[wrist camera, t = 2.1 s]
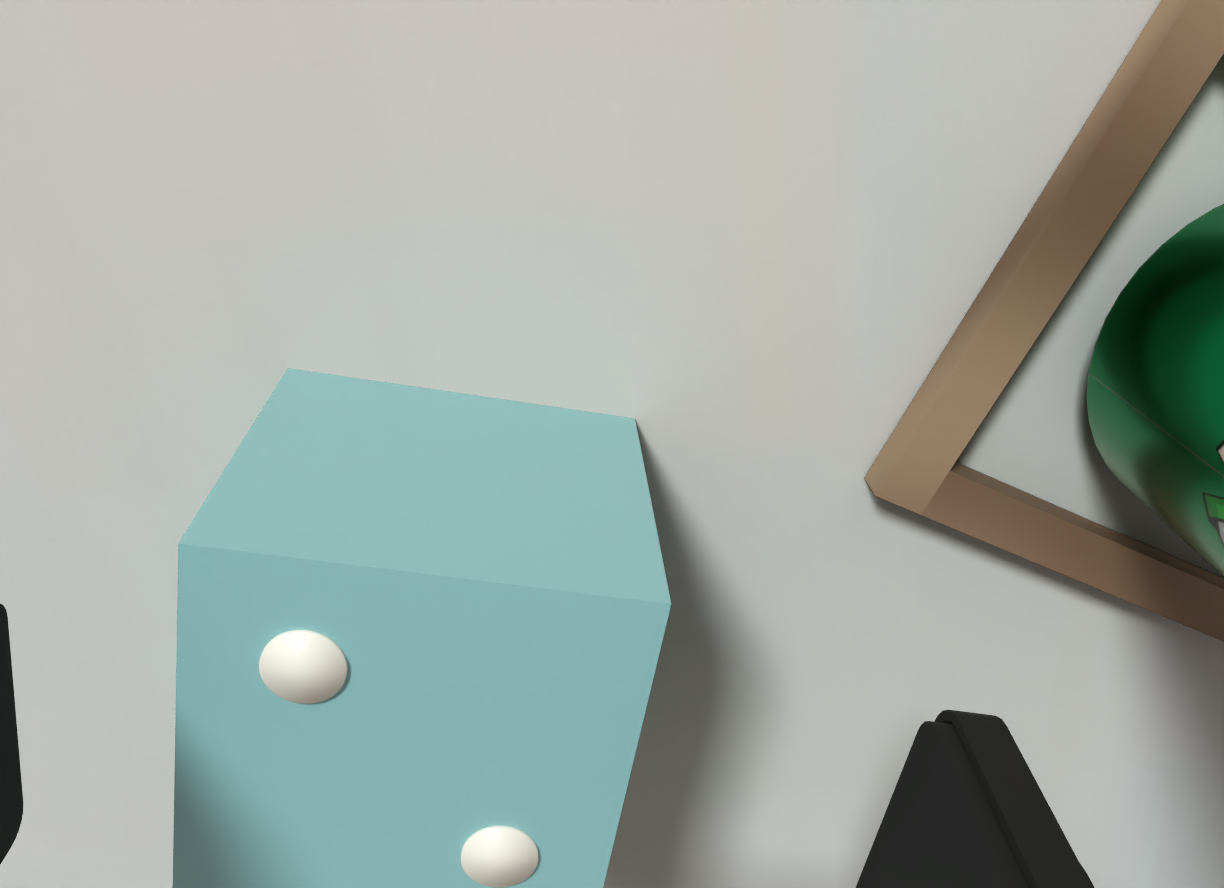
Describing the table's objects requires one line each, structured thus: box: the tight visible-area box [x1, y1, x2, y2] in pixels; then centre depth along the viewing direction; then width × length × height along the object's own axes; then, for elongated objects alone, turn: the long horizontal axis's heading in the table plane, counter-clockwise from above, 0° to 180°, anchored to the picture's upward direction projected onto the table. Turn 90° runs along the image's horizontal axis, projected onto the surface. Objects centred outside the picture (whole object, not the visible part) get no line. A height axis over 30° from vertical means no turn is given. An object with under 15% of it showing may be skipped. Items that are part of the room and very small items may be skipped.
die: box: [173, 368, 671, 888], centre depth 14 cm, size 5×5×5 cm
